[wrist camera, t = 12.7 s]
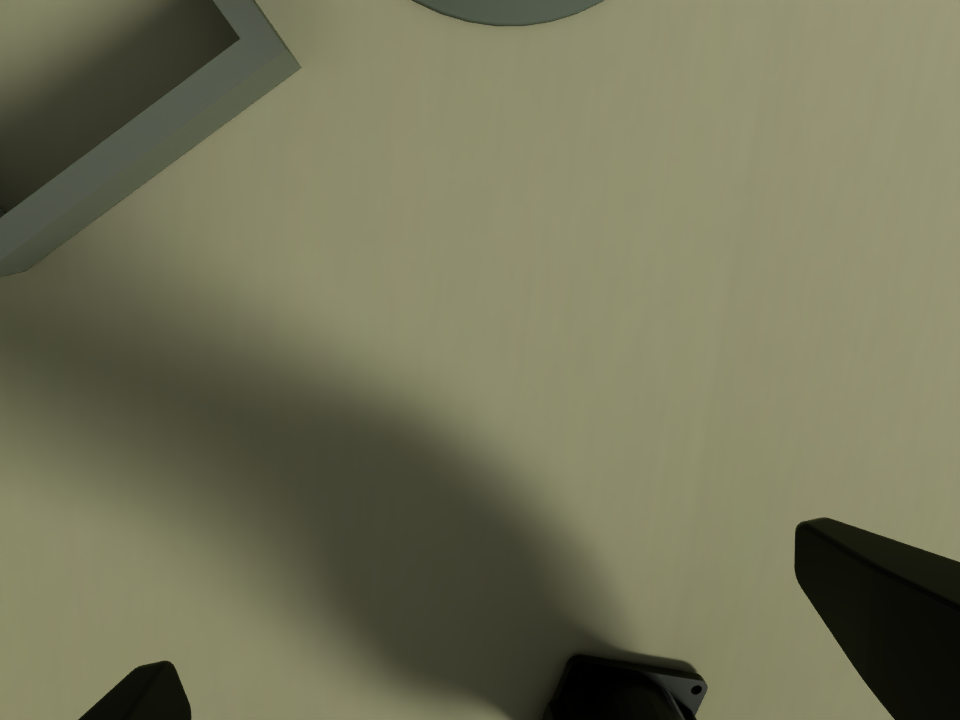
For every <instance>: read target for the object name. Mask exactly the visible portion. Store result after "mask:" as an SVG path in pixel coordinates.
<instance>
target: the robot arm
mask: <svg viewBox="0 0 960 720" xmlns="http://www.w3.org/2000/svg"><path fill="white" fill-rule="evenodd" d="M794 568H795V574H796V578H797V580H798V583H799V585H800V586H801V588H802V590H803V591H804V593H805V594H806V596H807V597H808V599H809V600H810V602H811V603H812V605H813V606H814V608H815V609H816V611H817V612H818V614H819V615H820V617H821V618H822V620H823V621H824V623H825V624H826V626H827V627H828V628H829V630H830V631H831V633H832V634H833V636H834V637H835V639H836V640H837V642H838V643H839V645H840V646H841V648H842V649H843V651H844V652H845V654H846V655H847V657H848V658H849V660H850V661H851V663H852V664H853V666H854V667H855V669H856V670H857V672H858V673H859V674H860V676H861V677H862V679H863V680H864V681H865V683H866V684H867V685H868V687H869V688H870V689H871V691H872V692H873V693H874V694H875V696H876V697H877V698H878V699H879V701H880V702H881V703H882V704H883V706H884V707H885V708H886V709H887V711H888V712H889V713H890V714H891V716H892V717H893V718H894V719H895V720H960V562H958V561H955V560H952V559H949V558H946V557H943V556H940V555H937V554H934V553H931V552H928V551H925V550H922V549H919V548H916V547H913V546H910V545H907V544H904V543H901V542H898V541H895V540H892V539H890V538H887V537H884V536H881V535H878V534H875V533H872V532H869V531H866V530H863V529H860V528H857V527H854V526H851V525H848V524H845V523H842V522H839V521H836V520H833V519H830V518H825V517H824V518H817V519H813V520H808V521H803V522H801V523H799V524H798V525H797V527H796V531H795V564H794ZM579 667H582V668H580V669H577V668H579ZM706 691H707V684H706V683H705V681H704V679H703V678H702V677H701V675H699V674H696V673H690V672H684V671H678V670H672V669H666V668H660V667H653V666H647V665H641V664H635V663H629V662H623V661H617V660H611V659H604V658H598V657H592V656H586V655H576V656H573V657H572V658H570V659H569V661H568V662H567V664H566V667H565V669H564V672H563V674H562V677H561V679H560V682H559V684H558V687H557V689H556V692H555V694H554V697H553V699H552V700H551V701H550V702H549V703H548V705H547V707H546V710H545V712H544V715H543V717H542V719H541V720H697V719H696V718H695V715H696V713H697V710H698V708H699V706H700V704H701V702H702V700H703V698H704V696H705V694H706ZM78 720H191V708H190V704H189V701H188V699H187V696H186V694H185V691H184V689H183V686H182V684H181V681H180V679H179V676H178V673H177V671H176V669H175V667H174V665H173V664H172V663H171V662H169V661H160V662H156V663H151V664H146V665H142V666H139V667H137V668H135V669H134V670H133V671H131V672H130V673H129V674H128V675H127V676H126V677H125V678H124V679H123V680H121V681H120V682H119V683H118V684H117V685H116V686H115V687H114V688H113V689H112V690H110V691H109V692H108V693H107V694H106V695H105V696H104V697H103V698H102V699H101V700H99V701H98V702H97V703H96V704H95V705H94V706H93V707H92V708H91V709H89V710H88V711H87V712H86V713H85V714H84V715H83V716H82V717H81V718H80V719H78Z"/></svg>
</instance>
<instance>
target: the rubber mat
mask: <svg viewBox="0 0 960 720" xmlns="http://www.w3.org/2000/svg"><path fill="white" fill-rule="evenodd" d="M412 1H414V2H416V3H418V4H420V5H423V6H425V7H427V8H429V9H431V10H434V11H436V12H438V13H440V14H443V15H446V16H450V17H453V18H456V19H460V20H463V21H467V22H472V23H479V24H485V25H492V26H526V25H533V24H540V23H546V22H552V21H555V20H558V19H561V18H565V17H568V16H571V15H574V14H577V13H579V12H581V11H583V10H586V9H588V8H590V7H592V6H594V5H596V4H598V3H600V2H602V1H604V0H412Z"/></svg>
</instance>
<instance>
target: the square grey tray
mask: <svg viewBox="0 0 960 720" xmlns="http://www.w3.org/2000/svg"><path fill="white" fill-rule="evenodd" d="M213 1H214V3H215V4H216V5H217V7H218V8H219V10H220V11H221V12H222V14H223V15H224V17H225V18H226V19H227V21H228V22H229V24H230V25H231V26H232V28H233V29H234V30H235V32H236V33H237V35H238V36H239V37H240V39H239V40H238V41H237V42H235V43H234V44H233V45H231V46H230V47H229V48H227V49H226V50H225V51H223V52H222V53H221V54H219V55H218V56H217V57H215V58H214V59H212V60H211V61H210V62H208V63H207V64H206V65H204V66H203V67H202V68H200V69H199V70H198V71H196V72H195V73H194V74H192V75H191V76H190V77H188V78H187V79H186V80H184V81H183V82H182V83H180V84H179V85H178V86H176V87H175V88H174V89H172V90H171V91H170V92H168V93H167V94H166V95H164V96H163V97H162V98H160V99H159V100H158V101H156V102H155V103H154V104H152V105H151V106H150V107H148V108H147V109H146V110H144V111H143V112H141V113H140V114H139V115H137V116H136V117H135V118H133V119H132V120H131V121H129V122H128V123H127V124H125V125H124V126H123V127H121V128H120V129H119V130H117V131H116V132H115V133H113V134H112V135H111V136H109V137H108V138H107V139H105V140H104V141H103V142H101V143H100V144H99V145H97V146H96V147H95V148H93V149H92V150H91V151H89V152H88V153H87V154H85V155H84V156H83V157H81V158H80V159H79V160H77V161H76V162H74V163H73V164H72V165H70V166H69V167H68V168H66V169H65V170H64V171H62V172H61V173H60V174H58V175H57V176H56V177H54V178H53V179H52V180H50V181H49V182H48V183H46V184H45V185H44V186H42V187H41V188H40V189H38V190H37V191H36V192H34V193H33V194H32V195H30V196H29V197H28V198H26V199H25V200H24V201H22V202H21V203H20V204H18V205H17V206H16V207H14V208H13V209H12V210H10V211H9V212H7V213H5V212H4V211H3V210H2V209H1V208H0V277H2V276H6V275H11V274H15V273H19V272H24V271H26V270H28V269H29V268H30V267H32V266H33V265H34V264H36V263H37V262H38V261H40V260H41V259H43V258H44V257H45V256H47V255H48V254H49V253H51V252H52V251H53V250H55V249H56V248H57V247H59V246H60V245H62V244H63V243H64V242H66V241H67V240H68V239H70V238H71V237H72V236H74V235H75V234H76V233H78V232H79V231H81V230H82V229H83V228H85V227H86V226H87V225H89V224H90V223H91V222H93V221H94V220H95V219H97V218H98V217H100V216H101V215H102V214H104V213H105V212H106V211H108V210H109V209H110V208H112V207H113V206H114V205H116V204H117V203H119V202H120V201H121V200H123V199H124V198H125V197H127V196H128V195H129V194H131V193H132V192H133V191H135V190H136V189H137V188H139V187H140V186H142V185H143V184H144V183H146V182H147V181H148V180H150V179H151V178H152V177H154V176H155V175H156V174H158V173H159V172H161V171H162V170H163V169H165V168H166V167H167V166H169V165H170V164H171V163H173V162H174V161H175V160H177V159H178V158H180V157H181V156H182V155H184V154H185V153H186V152H188V151H189V150H190V149H192V148H193V147H194V146H196V145H197V144H199V143H200V142H201V141H203V140H204V139H205V138H207V137H208V136H209V135H211V134H212V133H213V132H215V131H216V130H218V129H219V128H220V127H222V126H223V125H224V124H226V123H227V122H228V121H230V120H231V119H232V118H234V117H235V116H236V115H238V114H239V113H241V112H242V111H243V110H245V109H246V108H247V107H249V106H250V105H251V104H253V103H254V102H255V101H257V100H258V99H260V98H261V97H262V96H264V95H265V94H266V93H268V92H269V91H270V90H272V89H273V88H274V87H276V86H277V85H279V84H280V83H281V82H283V81H284V80H285V79H287V78H288V77H289V76H291V75H292V74H293V73H295V72H296V71H298V70H299V69H300V68H302V67H301V66H300V65H299V63H298V62H297V60H296V59H295V57H294V56H293V55H292V53H291V52H290V50H289V49H288V47H287V46H286V45H285V43H284V42H283V40H282V39H281V37H280V36H279V34H278V33H277V32H276V30H275V29H274V27H273V26H272V24H271V23H270V22H269V20H268V19H267V17H266V16H265V14H264V13H263V12H262V10H261V9H260V7H259V6H258V4H257V3H256V2H255V0H213Z"/></svg>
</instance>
